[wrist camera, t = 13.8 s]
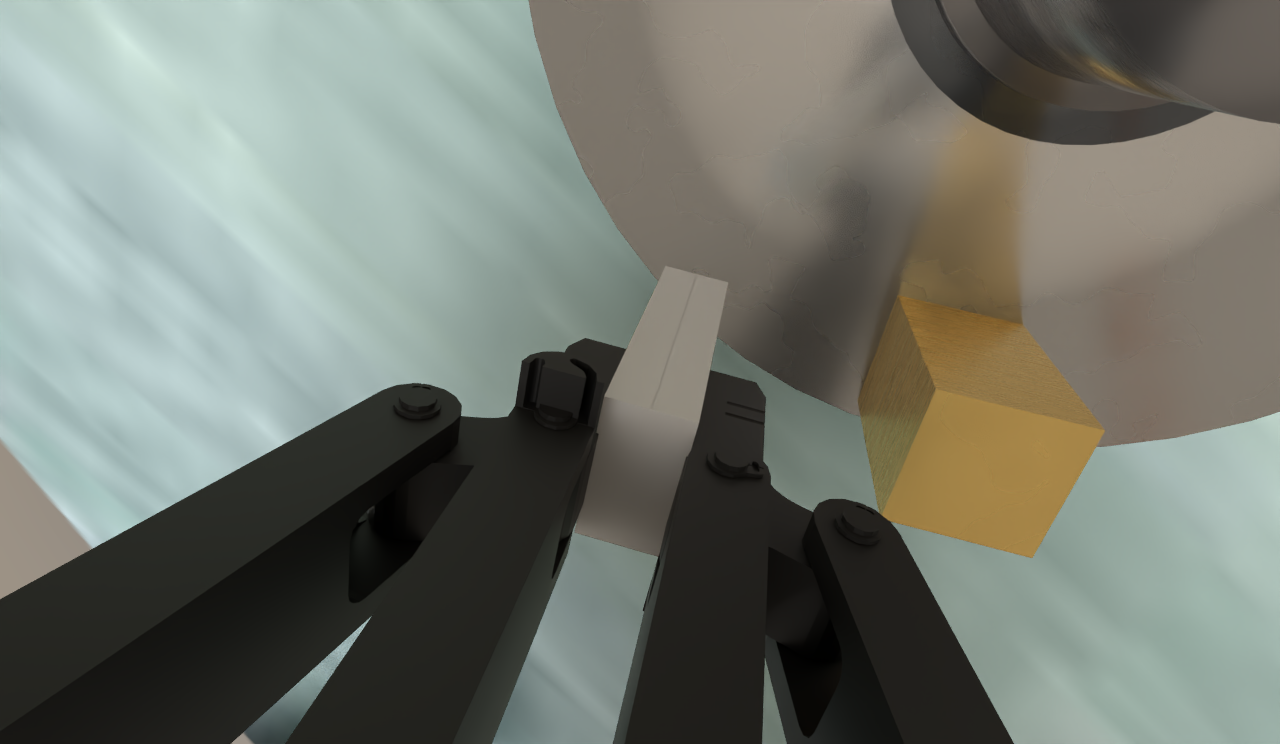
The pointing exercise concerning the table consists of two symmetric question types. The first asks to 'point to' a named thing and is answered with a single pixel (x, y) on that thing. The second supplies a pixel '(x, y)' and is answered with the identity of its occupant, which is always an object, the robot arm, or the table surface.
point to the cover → (1128, 51)
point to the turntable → (934, 239)
